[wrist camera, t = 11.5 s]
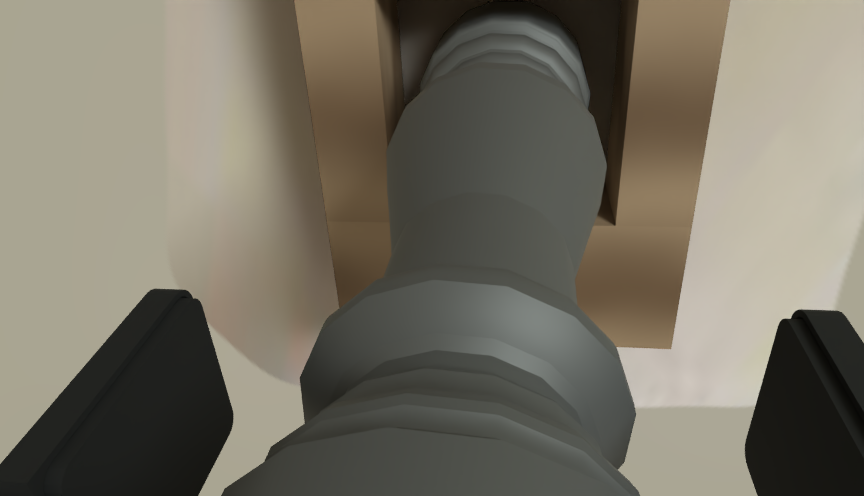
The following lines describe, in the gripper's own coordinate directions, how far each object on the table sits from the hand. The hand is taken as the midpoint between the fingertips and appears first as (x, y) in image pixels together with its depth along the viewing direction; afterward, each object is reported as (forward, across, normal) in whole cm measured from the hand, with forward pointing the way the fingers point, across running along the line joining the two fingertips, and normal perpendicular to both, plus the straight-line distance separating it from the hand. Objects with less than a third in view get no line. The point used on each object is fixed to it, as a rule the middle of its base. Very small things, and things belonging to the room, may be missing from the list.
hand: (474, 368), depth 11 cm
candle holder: (+18, 0, +1) cm, 18 cm away
